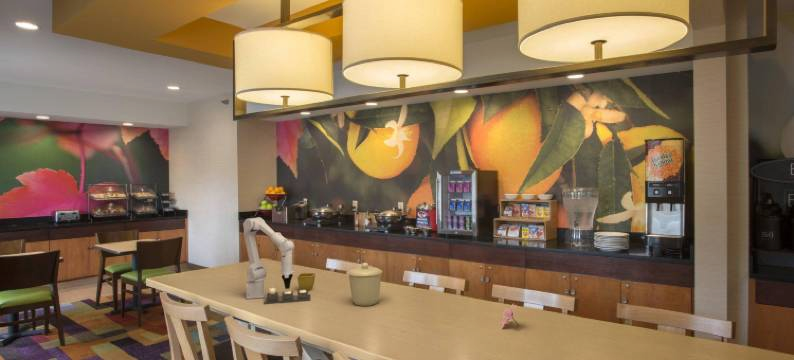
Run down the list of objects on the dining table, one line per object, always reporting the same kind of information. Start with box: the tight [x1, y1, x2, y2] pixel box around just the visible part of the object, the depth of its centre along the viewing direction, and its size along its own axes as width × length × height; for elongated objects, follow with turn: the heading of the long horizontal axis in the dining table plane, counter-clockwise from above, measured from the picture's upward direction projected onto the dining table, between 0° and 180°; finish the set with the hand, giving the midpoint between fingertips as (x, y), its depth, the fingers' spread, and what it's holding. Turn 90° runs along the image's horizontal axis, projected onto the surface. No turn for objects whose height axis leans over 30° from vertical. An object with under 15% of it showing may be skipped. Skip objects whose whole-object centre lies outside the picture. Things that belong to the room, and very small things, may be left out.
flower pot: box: [296, 272, 316, 292], centre depth 268 cm, size 9×9×9 cm
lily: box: [500, 303, 520, 330], centre depth 196 cm, size 12×12×10 cm
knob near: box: [268, 286, 277, 295], centre depth 244 cm, size 4×4×4 cm
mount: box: [263, 290, 312, 305], centre depth 246 cm, size 24×10×4 cm, turn 101°
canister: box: [347, 262, 383, 307], centre depth 236 cm, size 18×18×21 cm
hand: (287, 288), depth 246 cm, fingers closed
